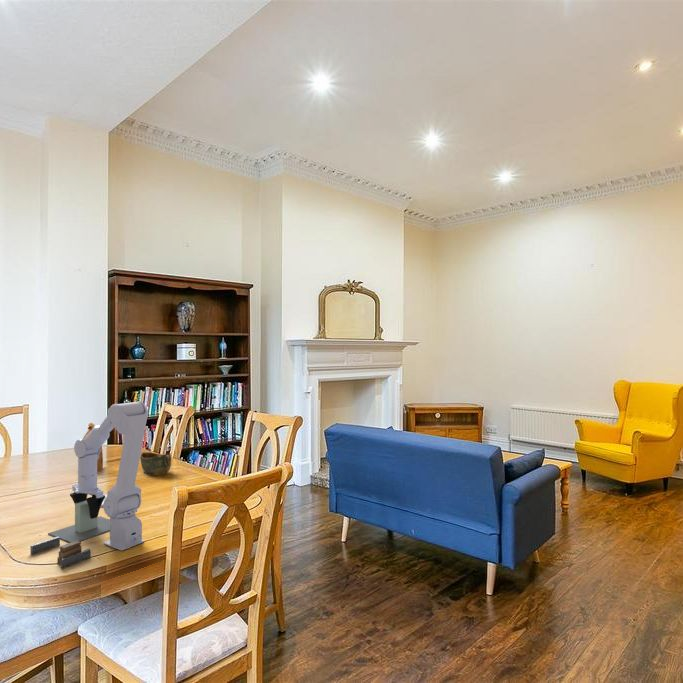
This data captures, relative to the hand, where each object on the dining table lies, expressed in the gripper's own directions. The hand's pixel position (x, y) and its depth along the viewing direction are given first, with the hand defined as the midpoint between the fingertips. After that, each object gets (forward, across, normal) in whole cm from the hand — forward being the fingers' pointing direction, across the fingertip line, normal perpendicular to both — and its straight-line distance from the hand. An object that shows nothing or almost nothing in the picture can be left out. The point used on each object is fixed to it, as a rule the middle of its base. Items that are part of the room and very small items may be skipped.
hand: (87, 515), depth 164 cm
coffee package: (+5, -70, +44) cm, 83 cm away
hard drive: (+6, -21, +20) cm, 30 cm away
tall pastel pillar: (+4, 0, 0) cm, 4 cm away
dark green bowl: (+5, -39, +57) cm, 69 cm away
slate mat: (+5, 0, 0) cm, 5 cm away
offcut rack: (+5, +12, -16) cm, 20 cm away
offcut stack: (+5, +17, -16) cm, 24 cm away
